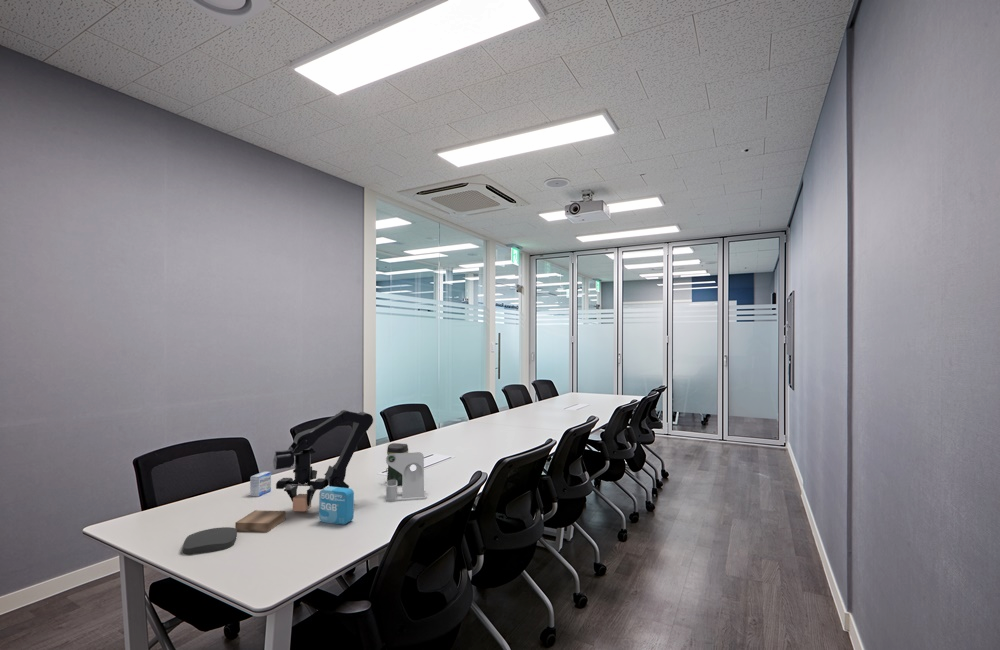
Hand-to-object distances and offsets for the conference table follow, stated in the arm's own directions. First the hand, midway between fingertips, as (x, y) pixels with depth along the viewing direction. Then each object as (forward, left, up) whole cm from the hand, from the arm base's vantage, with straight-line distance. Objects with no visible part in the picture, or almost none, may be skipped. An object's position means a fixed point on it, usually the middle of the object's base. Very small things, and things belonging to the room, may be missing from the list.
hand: (302, 505), depth 184 cm
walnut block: (+9, +13, -3) cm, 16 cm away
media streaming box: (+17, +29, -3) cm, 34 cm away
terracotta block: (0, 0, -1) cm, 1 cm away
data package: (-17, +8, -3) cm, 19 cm away
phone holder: (-36, -21, -3) cm, 42 cm away
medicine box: (+29, -21, -3) cm, 36 cm away
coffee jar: (-27, -40, -3) cm, 48 cm away
